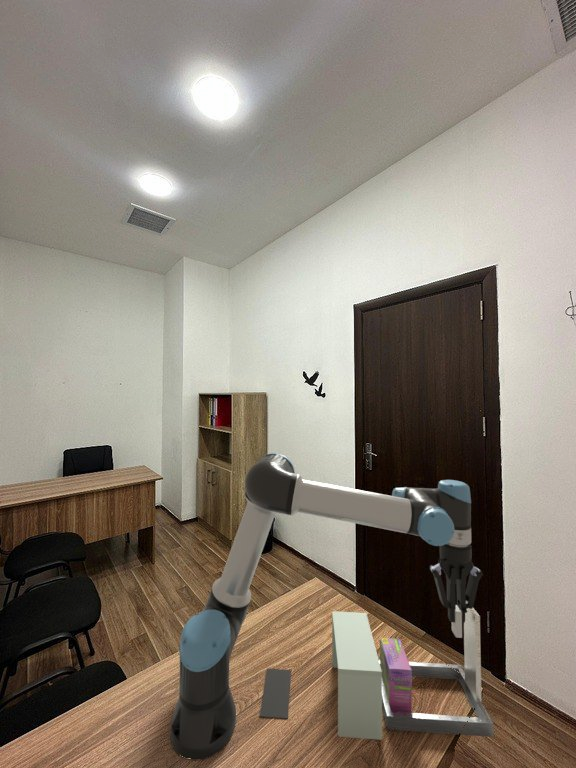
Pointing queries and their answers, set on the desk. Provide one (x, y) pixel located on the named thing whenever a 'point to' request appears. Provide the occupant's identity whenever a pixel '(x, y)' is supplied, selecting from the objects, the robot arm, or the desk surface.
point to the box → (396, 675)
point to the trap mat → (276, 694)
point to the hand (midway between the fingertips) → (456, 633)
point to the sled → (434, 670)
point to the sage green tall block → (357, 676)
